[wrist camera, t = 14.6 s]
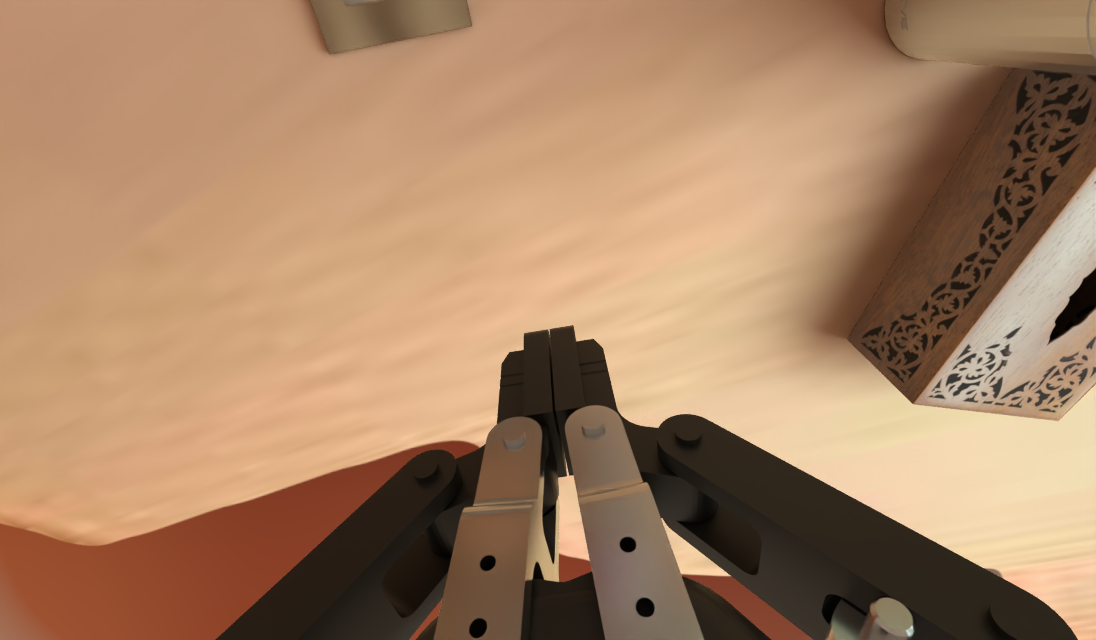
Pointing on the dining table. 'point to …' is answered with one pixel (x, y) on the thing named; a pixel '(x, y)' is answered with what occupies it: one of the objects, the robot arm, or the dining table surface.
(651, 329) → the dining table surface
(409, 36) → the pipe stand
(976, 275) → the tissue box cover
